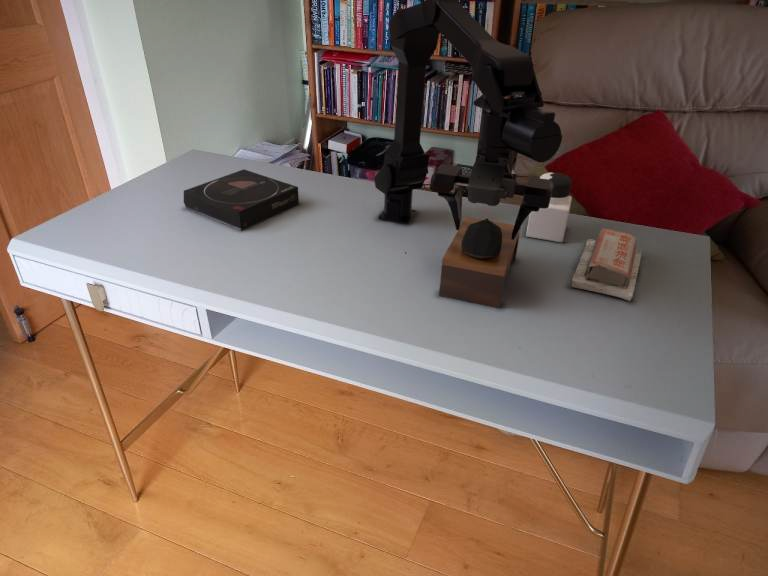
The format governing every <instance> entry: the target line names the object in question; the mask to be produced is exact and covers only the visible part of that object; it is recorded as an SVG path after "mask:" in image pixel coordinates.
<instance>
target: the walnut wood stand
mask: <svg viewBox="0 0 768 576" xmlns="http://www.w3.org/2000/svg"><path fill="white" fill-rule="evenodd" d="M482 220H483V219H481V218H476V217H470V216H465V218H464V219H463V221H462V222H461V224H460V229H459V230H457V231H456V232H455V235H454V237H453V239H452V241H450V244H449V245H448V248H447V249H446V251H445V253H444V255H443V256H442V260H441V269H440V281H439V292H438V296H439V297H444V298H450V299H453V300H459V301H462V302H468V303H473V304H479V305H483V306H488V307H491V308H492V307H493V308H498V309H499V308H500V307H501V305H502V299H503V293H504V292H503V291H504V285H505V281H506V278H507V275H508V272H509V269H510V266H511V264H512V263H513V264H515V262H516V260H517V253H518V248H519V241H520V236H521V235H520V234H521V230H522V226H521V227H520V229H519V231H518V233H517V235H516V236H515V238H514V240H512V239H511V238H512V231H513V228H514V225H515V224H512V223H506V222H500V221H494V220H490V221H491V222H493V223H494V224H496V225H497V226H499V227H500V228H501V231H502V245H501V251H500V253H499V254H498V256H495V257H489V258H478V257H473V256H471V255H469V254H467V253H465V252H463V251H462V248H461V243H462V239H463V236H464V234H465V231H466V229H467V227H468V226H469V225H470V224H473V223H476V222H479V221H482Z"/></svg>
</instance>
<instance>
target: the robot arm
mask: <svg viewBox="0 0 768 576" xmlns="http://www.w3.org/2000/svg"><path fill="white" fill-rule="evenodd" d="M388 23H389V25H388V30H389V35H390V36H389V37H390V38H389V39H390V47H391V49H392V51H393V53H394V55H395V57H396V59H397V61H398V63H397V64H398V66H397V82H396V83H397V84H396V98H395V99H396V100H395V101H396V102H395V119H394V120H395V121H394V134H393V135H394V137H393V141H392V142H391V144H390V145H389V147H388V148H387V150H386V152H385V153H384V158H383V166H382V167H381V169H379V171H378V172H377V173H376V174H375V176H374V178H373V180H374V186H375V189H377V190H378V191H380V193H382V194H384V195H383V196H384V197H383V200H384V201H383V210H382V211H381V212H380V214H379V215H378V216H377V219H378V220H381V221H388V222H393V223H399V224H405V225H407V224H408V225H409V223H410V222H411V221H412V219H413V218H414V216H415V215H416V214H417V210H416V209H413V194H414V193H413V192H414V191H413V190H419V189H420V190H421V189H423V186H424V183H425V181H426V178H427V175H428V174H429V161H430V155H429V153H427V152H425V150H424V148H423V146H422V144H421V132H422V121H423V108H424V97H425V86H426V85H425V84H426V74H427V73H426V72H427V64H428V62H429V61H430V60H431V57H432V56H433V55H434V53H435V52H436V50H437V47H438V43H439V38H440V37H439V36H440V35H442V36H443V37H444V38H445V39H446V40H447V41H448V43H450V44H451V45H452V47H453V48H454V49H455V50H456V51H457V53H459V54H460V55H461V56H462V58H464V59H465V61H467V63H468V64H469V66H470V67H471V79H472V81H473V82H474V84H475V85H476V87H477V88H478V90H479V92H480V93H481V95H479V97H478V98H476V99H475V100H474V101H473V106H474V107H477V108H480V109H481V113H480V121H479V122H480V123H479V130H478V131H479V132H478V139H477V147H476V148H477V149H476V156H475V162H474V163H473V165H472V168H471V170H470V175H469V174H463V167H462V166H456V165H451V164H450V165H449V164H443V163H442V164H441V165H439V166H438V167H437V168H436V170H434V172H433V173H432V174H431V177H430V183H429V190H430V191H431V192H434V193H437V196H438V197H440V198H443V199H444V200H445V201H446V202H447V204H448V206H449V209H450V212H451V216H452V220H453V223H454V226H455V230H456V231H458V230H459V229H460V226H461V224H462V216H463V215H462V213H463V192H464V191H463V188H467V201H468V202H469V203H471V204H482V205H488V206H490V207H495V206H498V205H499V204H500V203H501V199H504V200H507V198H509V199H513V198H514V196H520V197H522V200H521V203H520V206H519V209H518V212H517V216H516V219H515V222H514V224H513V225H514V228H513V231H512V238H511V239H512V240H514V238H515V236H516V235H517V233H518V231H519V229H520V227H521V228H522V226H523V224H524V222H525V220H526V219H527V218H528V217H529V215H530V213H531V212H532V211H535V212H537V211H539V209H540V208H544V209H545V208H548V207H549V204H550V200H551V196H552V191H553V186H554V184H553V182H552V181H551V180H549V179H542V178H540V177H534V176H529V177H528V179H527V182H526V183H524V182H518V174H517V173H513V166H514V161H515V154H516V153H517V154H519V155H521V156H523V157H525V158H528V159H531V160H532V161H535V162H537V163H545V162H548V161H549V160H551V159H553V157H555V155H556V154H557V153H558V151H559V149H560V147H561V144H562V141H563V135H562V129H561V126H560V125H559V124H558V123H557V122H556V121H555V119H556V113H555V112H554V111H552V110H548V109H542V108H543V107H544V106H545V103H544V100H543V97H542V95H543V92H542V91H541V89H540V85H539V84H538V79H537V76H536V75H537V74H536V72H535V69H534V63H533V61H532V58H531V57H530V56H529V55H528V54H526V53H524V52H523V51H522V50H519V49H518V48H516V47H515V46H512V45H508V44H505V43H502V42H499V41H498V40H496V38H494V37H493V35H491V34H490V33H489V32H488V31H487V30H486V29H485V28H484V27H483V26H482V25H481V24H480V23H479V22H478V21H477V20H476V19H475V17H473V16H472V15H471V14H470V13H469V12H468V11H467V10H466V9H465V8H464V7H463V6H462V5H461V1H460V0H424V1H422V2H419V3H416V4H414V5H411V6H409V7H405V8H398V9H396V10H395V12H394V14H392V15H391V17H390V20H389V22H388ZM521 95H524V96H521ZM515 96H516V97H515ZM507 97H508V98H507Z"/></svg>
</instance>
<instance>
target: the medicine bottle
mask: <svg viewBox="0 0 768 576" xmlns="http://www.w3.org/2000/svg"><path fill="white" fill-rule="evenodd" d="M539 178H542V179H549V180H551V181H552V182H553V184H554V186H553V191H552V196H551V200H550V204H549V207H548V208H545V209H544V208H540V209H539V211H537V212H535V211H532V212H531V213H530V214H529V215H528V221H527V227H526V233H525V236H526V238H531V239H536V240H537V239H538V240H543V241H549V242H556V243H563V242H564V239H565V234H566V230H567V224H568V220H569V216H570V211H571V205H572V200H573V197H572V196H571V195H570V194H571V189H572V186H573V185H572V184H573V180H572V178H571V177H570V176H568V175H566V174H564V173H561V172H554V171H551V172H546V173H543V174H542V175H540V176H539Z"/></svg>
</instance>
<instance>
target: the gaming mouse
mask: <svg viewBox="0 0 768 576" xmlns="http://www.w3.org/2000/svg"><path fill="white" fill-rule="evenodd" d="M491 221H492V220H489V218H484V219H482V221H479V222H476V223H473V224H470V225H469V226H468V227H467V229H466V231H465V234H464V236H463V239H462V243H461V248H462V251H463V252H465V253H467V254H469V255H471V256H473V257H478V258H489V257H495V256H498V254H499V253H500V251H501V245H502V231H501V228H500V227H499V226H497V225H496V224H494V223H493V222H491Z"/></svg>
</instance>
